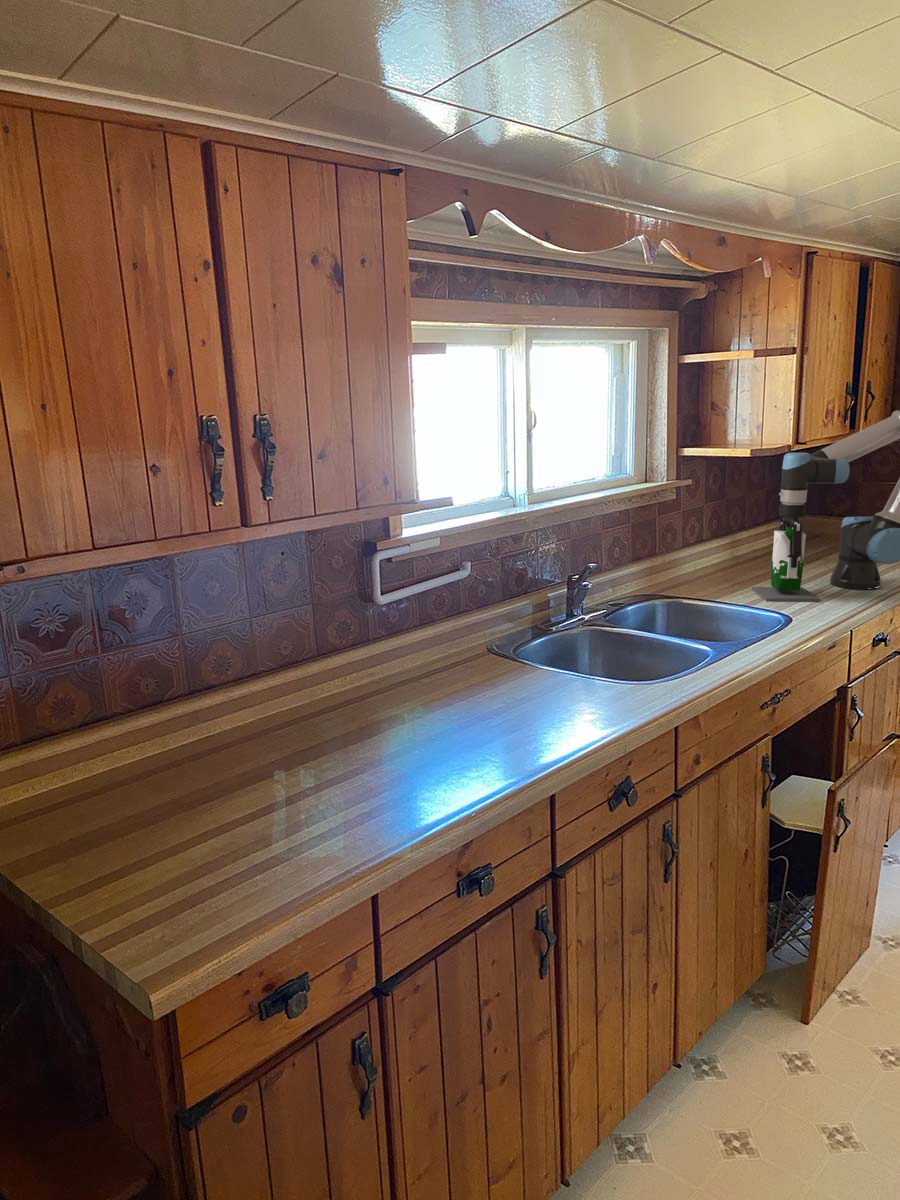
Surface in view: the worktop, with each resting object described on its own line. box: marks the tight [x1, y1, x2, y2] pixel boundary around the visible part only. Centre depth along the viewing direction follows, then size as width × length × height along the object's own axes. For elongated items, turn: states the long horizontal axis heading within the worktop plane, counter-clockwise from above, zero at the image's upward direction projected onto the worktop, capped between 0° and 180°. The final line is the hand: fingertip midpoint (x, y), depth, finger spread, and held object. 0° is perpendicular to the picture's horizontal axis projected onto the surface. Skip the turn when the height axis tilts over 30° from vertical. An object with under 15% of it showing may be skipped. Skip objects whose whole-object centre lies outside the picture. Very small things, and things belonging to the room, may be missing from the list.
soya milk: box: [770, 527, 807, 591], centre depth 263 cm, size 9×9×20 cm
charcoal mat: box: [751, 586, 821, 603], centre depth 266 cm, size 16×16×1 cm
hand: (786, 574), depth 264 cm, fingers closed on soya milk, 9 cm apart
